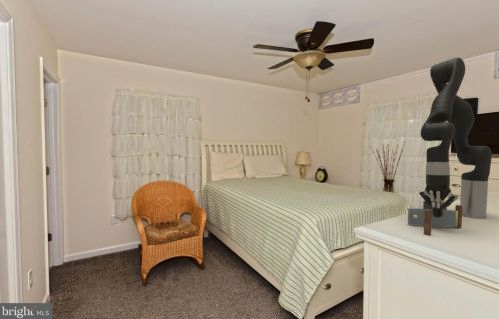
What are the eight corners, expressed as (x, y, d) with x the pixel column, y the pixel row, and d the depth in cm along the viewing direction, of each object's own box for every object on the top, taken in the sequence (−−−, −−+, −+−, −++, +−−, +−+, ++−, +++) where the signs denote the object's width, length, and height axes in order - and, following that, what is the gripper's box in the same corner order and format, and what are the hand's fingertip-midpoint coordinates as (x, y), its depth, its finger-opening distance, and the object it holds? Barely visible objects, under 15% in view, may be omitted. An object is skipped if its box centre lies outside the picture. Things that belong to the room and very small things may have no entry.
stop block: (428, 217, 111) (429, 200, 111) (446, 221, 105) (446, 203, 105) (422, 218, 110) (423, 201, 109) (439, 223, 103) (440, 204, 103)
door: (456, 226, 97) (457, 210, 97) (460, 228, 94) (461, 212, 94) (407, 223, 101) (408, 208, 101) (410, 225, 98) (411, 209, 98)
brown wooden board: (456, 226, 98) (457, 204, 98) (461, 227, 97) (462, 205, 96) (423, 234, 90) (424, 210, 89) (428, 235, 88) (429, 211, 88)
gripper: (463, 174, 91) (463, 219, 91) (425, 172, 103) (425, 212, 103) (451, 175, 88) (451, 222, 88) (414, 172, 100) (414, 214, 100)
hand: (437, 217), depth 95 cm, fingers closed
